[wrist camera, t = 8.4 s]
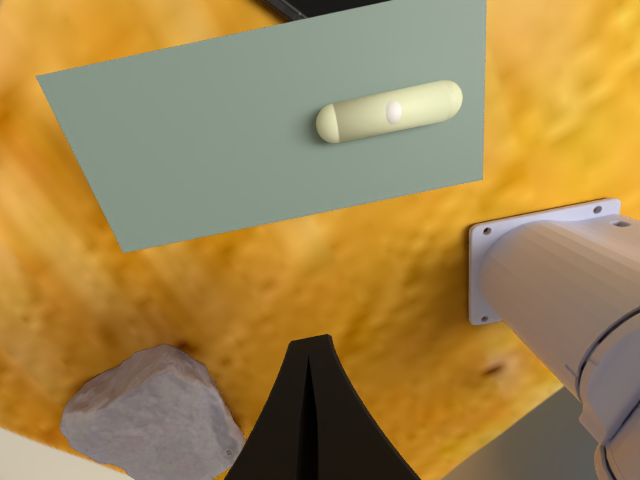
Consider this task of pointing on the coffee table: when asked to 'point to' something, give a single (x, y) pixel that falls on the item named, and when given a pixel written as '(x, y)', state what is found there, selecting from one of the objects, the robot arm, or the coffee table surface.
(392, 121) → the plate
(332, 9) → the phone
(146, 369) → the stone block
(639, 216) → the coffee table surface
